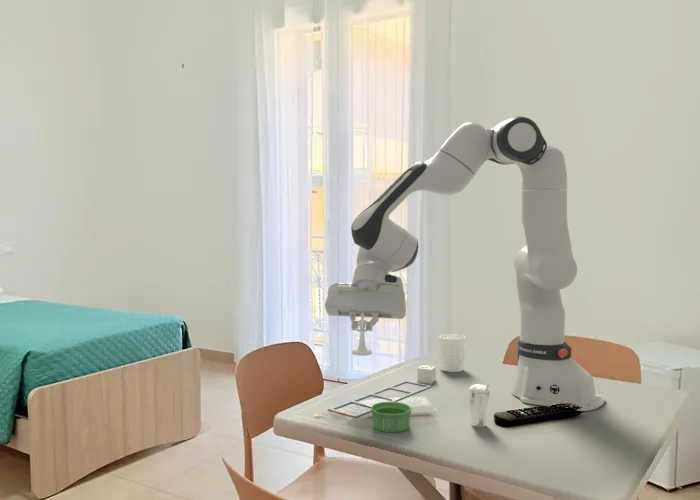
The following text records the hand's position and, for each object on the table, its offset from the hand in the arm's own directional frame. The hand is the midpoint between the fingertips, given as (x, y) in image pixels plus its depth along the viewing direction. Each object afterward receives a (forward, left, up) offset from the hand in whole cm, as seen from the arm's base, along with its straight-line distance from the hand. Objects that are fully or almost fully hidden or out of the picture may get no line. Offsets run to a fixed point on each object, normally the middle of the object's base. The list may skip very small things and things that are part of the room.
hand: (361, 329), depth 158 cm
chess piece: (0, -1, -6) cm, 6 cm away
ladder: (0, -9, -19) cm, 21 cm away
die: (0, -29, -19) cm, 35 cm away
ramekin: (-14, +7, -19) cm, 25 cm away
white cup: (+1, -45, -19) cm, 49 cm away
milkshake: (-29, -6, -19) cm, 35 cm away
